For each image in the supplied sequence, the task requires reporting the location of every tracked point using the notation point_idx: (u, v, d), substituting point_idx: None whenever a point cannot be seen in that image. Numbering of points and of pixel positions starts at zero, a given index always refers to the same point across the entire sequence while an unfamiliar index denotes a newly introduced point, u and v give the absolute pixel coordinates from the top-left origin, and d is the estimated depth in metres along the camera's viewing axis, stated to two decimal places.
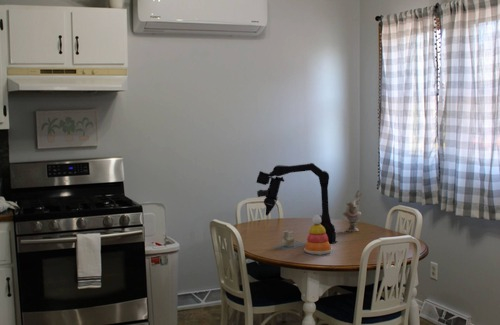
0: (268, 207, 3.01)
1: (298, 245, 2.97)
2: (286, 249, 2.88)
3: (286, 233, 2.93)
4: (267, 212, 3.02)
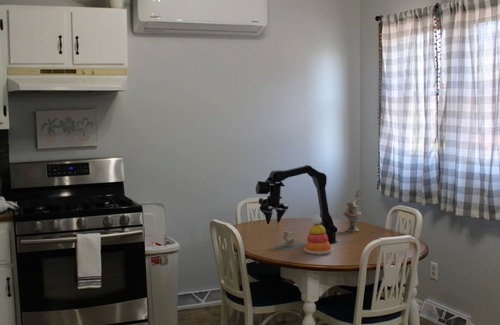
0: (267, 215, 2.89)
1: (298, 245, 2.97)
2: (286, 249, 2.88)
3: (286, 233, 2.93)
4: (267, 220, 2.89)
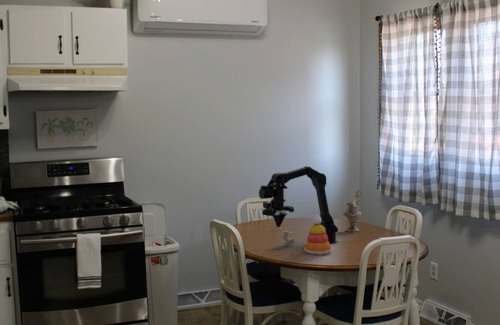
0: (276, 218, 2.88)
1: (298, 245, 2.97)
2: (286, 249, 2.88)
3: (286, 233, 2.93)
4: (277, 223, 2.88)
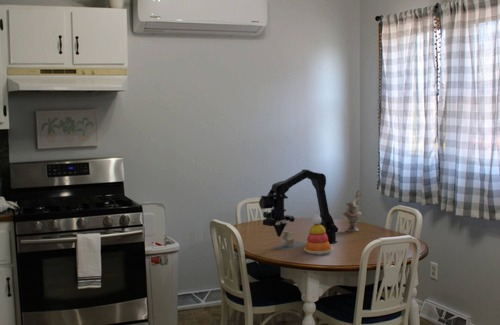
0: (276, 228, 2.88)
1: (298, 245, 2.97)
2: (286, 249, 2.88)
3: (286, 233, 2.93)
4: (277, 233, 2.89)
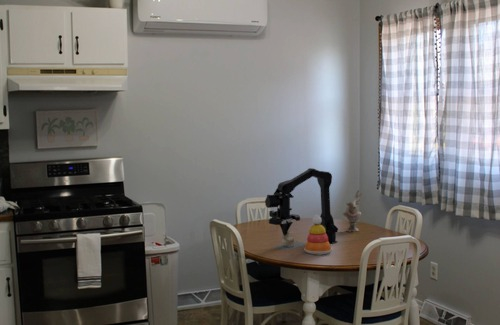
0: (282, 227, 2.91)
1: (298, 245, 2.97)
2: (286, 249, 2.88)
3: None
4: (283, 232, 2.92)
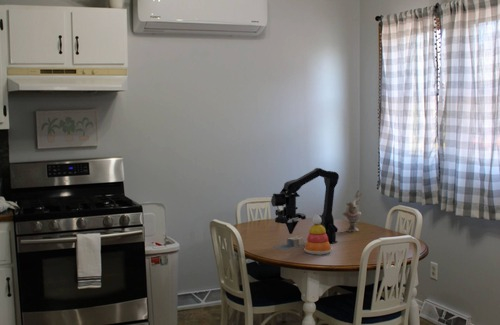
0: (288, 225, 2.95)
1: (298, 245, 2.97)
2: (286, 249, 2.88)
3: (300, 237, 3.01)
4: (289, 230, 2.95)
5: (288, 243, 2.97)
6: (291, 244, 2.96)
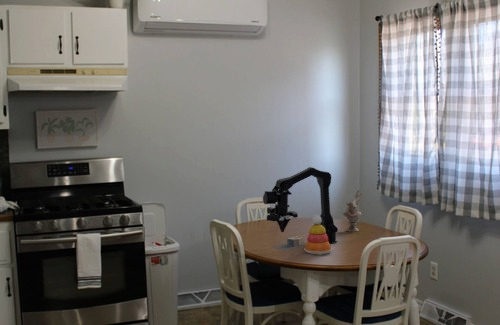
0: (280, 223, 2.92)
1: (298, 245, 2.97)
2: (286, 249, 2.88)
3: (300, 237, 3.01)
4: (281, 228, 2.93)
5: (288, 243, 2.97)
6: (291, 244, 2.96)
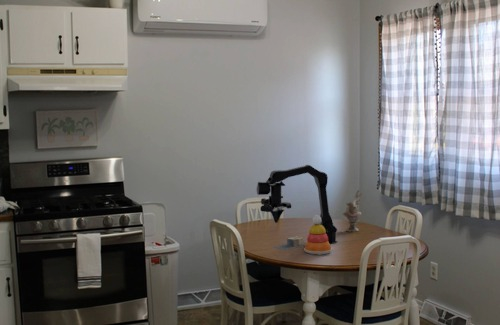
0: (274, 214, 2.96)
1: (298, 245, 2.97)
2: (286, 249, 2.88)
3: (300, 237, 3.01)
4: (275, 219, 2.97)
5: (288, 243, 2.97)
6: (291, 244, 2.96)
